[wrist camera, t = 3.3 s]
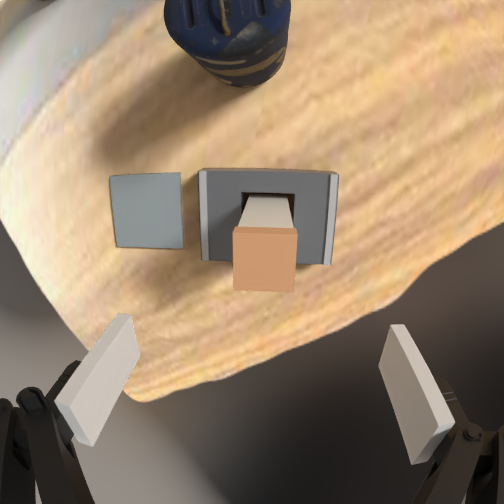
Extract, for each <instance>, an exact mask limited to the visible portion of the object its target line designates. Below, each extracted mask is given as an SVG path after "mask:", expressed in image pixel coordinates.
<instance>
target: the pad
mask: <svg viewBox="0 0 504 504" xmlns="http://www.w3.org/2000/svg"><path fill="white" fill-rule="evenodd" d="M110 187H111V198H112V208H113V218H114V226H115V234H116V242H117V247H147V248H178V249H183V248H184V235H183V218H182V198H181V172H179V173H151V174H132V175H116V176H110Z"/></svg>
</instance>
